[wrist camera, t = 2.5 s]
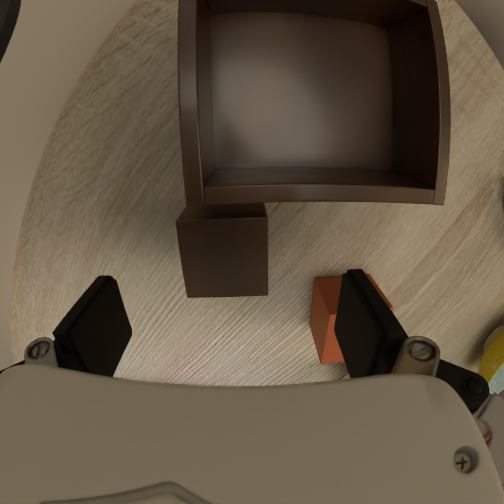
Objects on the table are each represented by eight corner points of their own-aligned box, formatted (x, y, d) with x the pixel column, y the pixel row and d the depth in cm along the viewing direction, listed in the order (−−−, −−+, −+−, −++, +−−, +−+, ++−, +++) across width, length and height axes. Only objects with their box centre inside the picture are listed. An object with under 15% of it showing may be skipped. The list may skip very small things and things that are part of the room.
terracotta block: (309, 324, 21) (320, 364, 17) (314, 277, 19) (329, 314, 15) (359, 319, 21) (377, 356, 17) (369, 273, 19) (394, 307, 15)
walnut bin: (204, 181, 16) (185, 206, 11) (198, 9, 11) (180, -33, 6) (395, 181, 17) (444, 205, 11) (391, 24, 12) (436, 1, 7)
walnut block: (198, 261, 19) (187, 298, 15) (191, 198, 17) (175, 220, 13) (263, 259, 19) (268, 295, 15) (262, 194, 17) (267, 216, 13)
